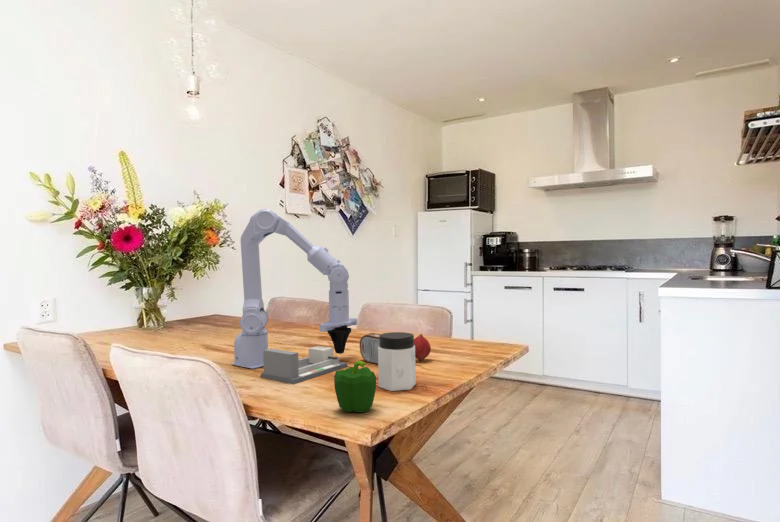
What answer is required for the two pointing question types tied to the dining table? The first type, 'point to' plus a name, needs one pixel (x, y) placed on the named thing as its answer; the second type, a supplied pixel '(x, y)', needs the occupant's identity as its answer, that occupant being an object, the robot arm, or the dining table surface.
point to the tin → (370, 347)
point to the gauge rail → (295, 366)
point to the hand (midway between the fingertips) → (339, 353)
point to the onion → (421, 347)
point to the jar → (396, 361)
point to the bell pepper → (355, 388)
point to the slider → (320, 354)
